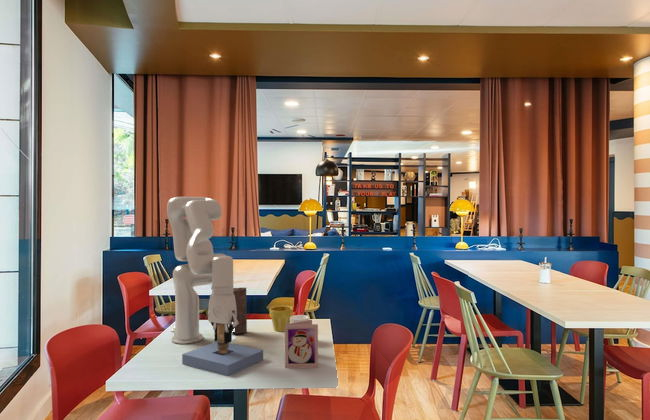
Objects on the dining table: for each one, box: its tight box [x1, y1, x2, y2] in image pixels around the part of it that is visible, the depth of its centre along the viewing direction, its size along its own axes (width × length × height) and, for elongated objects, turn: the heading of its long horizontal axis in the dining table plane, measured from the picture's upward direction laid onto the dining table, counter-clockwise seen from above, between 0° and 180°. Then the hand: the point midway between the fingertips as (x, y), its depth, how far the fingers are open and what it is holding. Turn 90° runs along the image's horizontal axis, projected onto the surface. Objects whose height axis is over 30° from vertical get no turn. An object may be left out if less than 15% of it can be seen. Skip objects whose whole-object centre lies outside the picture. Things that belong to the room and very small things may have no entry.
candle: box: [233, 287, 248, 334], centre depth 196 cm, size 8×7×20 cm
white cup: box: [290, 314, 310, 324], centre depth 184 cm, size 8×8×10 cm
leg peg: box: [216, 323, 230, 354], centre depth 159 cm, size 4×4×12 cm
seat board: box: [181, 341, 264, 377], centre depth 160 cm, size 22×18×4 cm
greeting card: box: [284, 319, 319, 369], centre depth 156 cm, size 11×7×15 cm, turn 91°
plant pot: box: [269, 305, 294, 333], centre depth 201 cm, size 10×10×10 cm
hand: (223, 340), depth 160 cm, fingers closed on leg peg, 4 cm apart
